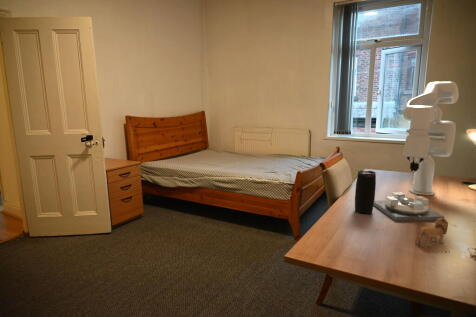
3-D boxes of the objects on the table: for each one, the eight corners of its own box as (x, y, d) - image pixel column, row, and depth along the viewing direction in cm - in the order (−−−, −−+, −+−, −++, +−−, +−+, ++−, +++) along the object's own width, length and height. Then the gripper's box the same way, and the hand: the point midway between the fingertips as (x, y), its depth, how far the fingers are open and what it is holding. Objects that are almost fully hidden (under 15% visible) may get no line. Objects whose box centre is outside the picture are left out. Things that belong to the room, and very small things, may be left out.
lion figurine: (435, 236, 120) (438, 214, 118) (449, 242, 115) (453, 219, 114) (411, 244, 113) (414, 221, 112) (425, 250, 109) (428, 226, 107)
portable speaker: (370, 208, 150) (373, 170, 146) (375, 215, 141) (379, 174, 137) (351, 207, 151) (355, 169, 147) (356, 214, 142) (359, 173, 138)
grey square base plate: (372, 204, 156) (372, 200, 156) (413, 204, 157) (414, 200, 157) (395, 221, 135) (396, 216, 134) (443, 220, 135) (444, 216, 135)
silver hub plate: (378, 201, 154) (379, 192, 153) (412, 201, 155) (414, 191, 154) (397, 214, 136) (399, 204, 135) (437, 214, 137) (438, 203, 136)
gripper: (398, 132, 146) (394, 169, 150) (435, 134, 136) (430, 174, 140) (403, 131, 152) (399, 167, 155) (438, 133, 142) (433, 172, 145)
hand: (414, 170), depth 147 cm, fingers closed
